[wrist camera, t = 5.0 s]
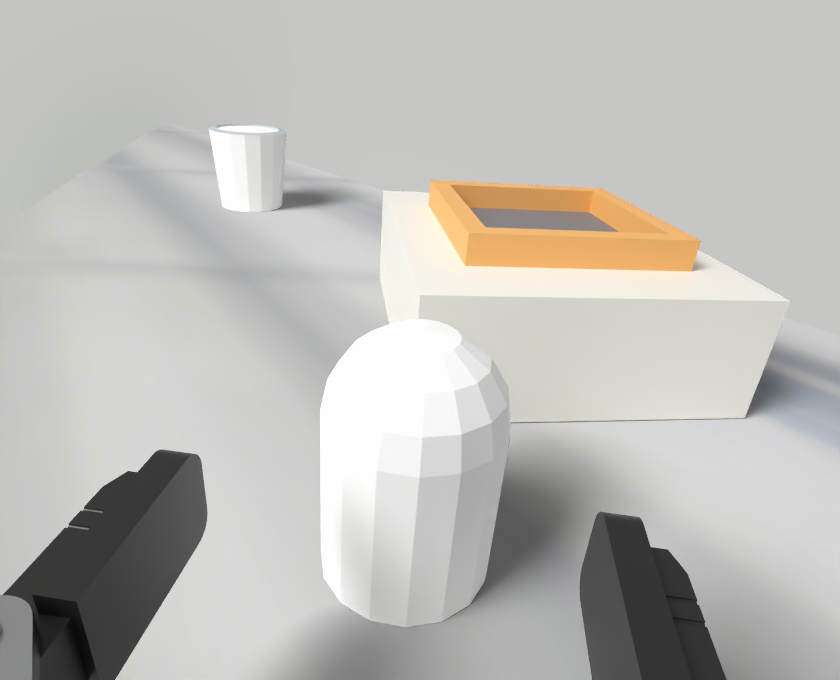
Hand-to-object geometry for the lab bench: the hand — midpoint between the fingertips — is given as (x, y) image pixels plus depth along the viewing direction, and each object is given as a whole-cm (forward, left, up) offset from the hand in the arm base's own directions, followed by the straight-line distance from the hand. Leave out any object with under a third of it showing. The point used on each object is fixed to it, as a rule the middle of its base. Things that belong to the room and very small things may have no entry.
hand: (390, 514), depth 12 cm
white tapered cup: (+9, -48, -6) cm, 50 cm away
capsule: (-1, -4, -6) cm, 8 cm away
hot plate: (-10, -22, -6) cm, 25 cm away
